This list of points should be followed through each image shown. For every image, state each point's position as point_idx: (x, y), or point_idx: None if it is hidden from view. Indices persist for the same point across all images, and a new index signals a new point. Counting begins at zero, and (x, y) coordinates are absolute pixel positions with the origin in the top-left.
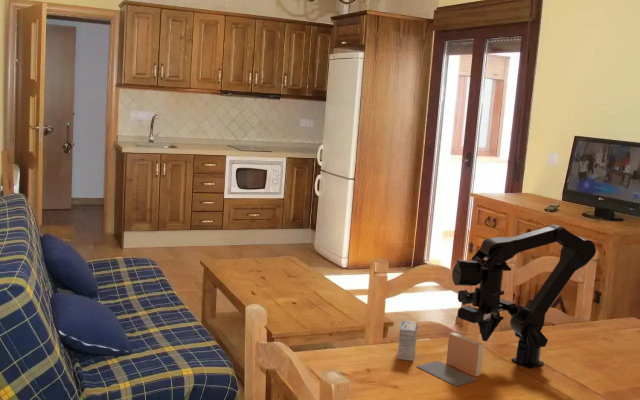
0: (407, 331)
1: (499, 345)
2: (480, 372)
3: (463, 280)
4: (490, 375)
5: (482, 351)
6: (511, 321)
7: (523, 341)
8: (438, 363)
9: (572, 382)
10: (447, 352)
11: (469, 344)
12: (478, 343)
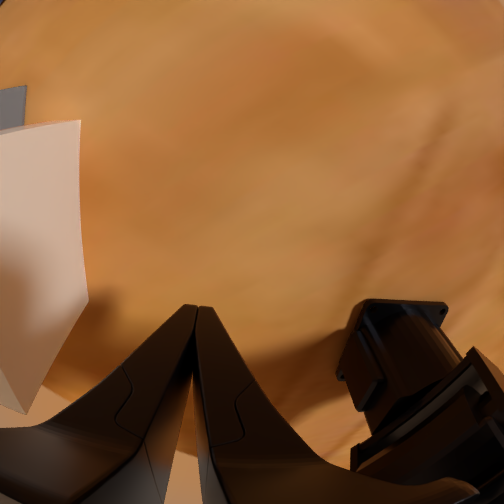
0: None
1: (500, 164)
2: (83, 307)
3: None
4: (124, 328)
5: (39, 381)
6: (479, 443)
7: (403, 413)
8: (7, 115)
9: (320, 450)
10: (8, 128)
11: None
12: (2, 393)
